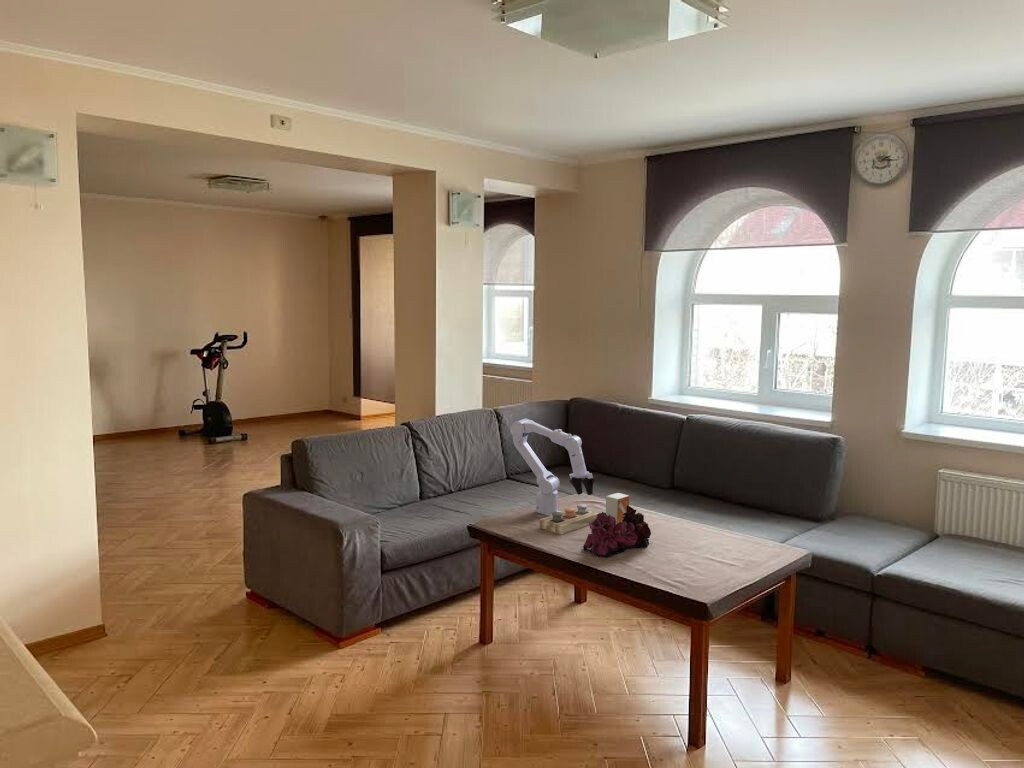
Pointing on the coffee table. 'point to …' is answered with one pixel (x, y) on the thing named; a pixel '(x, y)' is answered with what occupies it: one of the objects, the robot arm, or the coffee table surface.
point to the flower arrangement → (617, 534)
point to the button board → (568, 522)
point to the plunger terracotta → (569, 513)
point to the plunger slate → (581, 509)
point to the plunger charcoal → (557, 517)
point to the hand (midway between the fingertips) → (585, 494)
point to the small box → (617, 506)
